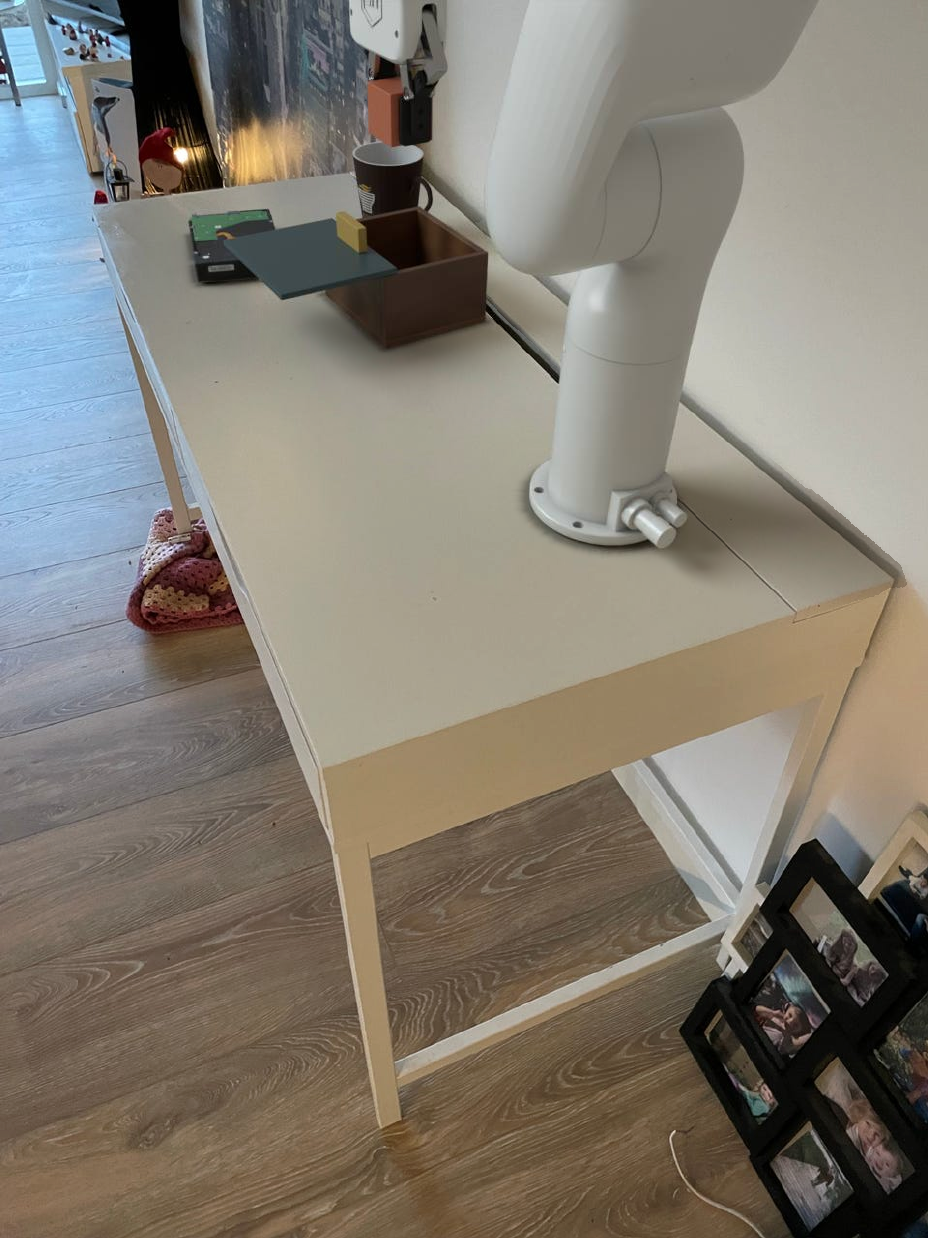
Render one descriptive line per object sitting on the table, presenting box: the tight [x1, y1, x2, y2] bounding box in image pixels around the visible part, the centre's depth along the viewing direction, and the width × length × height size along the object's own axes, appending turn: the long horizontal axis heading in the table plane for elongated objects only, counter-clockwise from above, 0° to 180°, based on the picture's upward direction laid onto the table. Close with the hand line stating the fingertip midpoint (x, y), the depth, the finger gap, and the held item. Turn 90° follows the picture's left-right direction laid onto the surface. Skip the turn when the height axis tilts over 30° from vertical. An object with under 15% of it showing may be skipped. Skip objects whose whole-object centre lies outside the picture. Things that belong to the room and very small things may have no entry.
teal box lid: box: [224, 210, 397, 301], centre depth 96 cm, size 15×13×3 cm
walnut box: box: [324, 205, 489, 349], centre depth 104 cm, size 15×13×8 cm
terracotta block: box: [366, 76, 434, 147], centre depth 88 cm, size 4×4×4 cm
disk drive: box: [188, 208, 276, 283], centre depth 114 cm, size 10×3×15 cm
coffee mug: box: [351, 141, 434, 218], centre depth 116 cm, size 12×9×10 cm
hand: (401, 132), depth 90 cm, fingers closed on terracotta block, 4 cm apart
